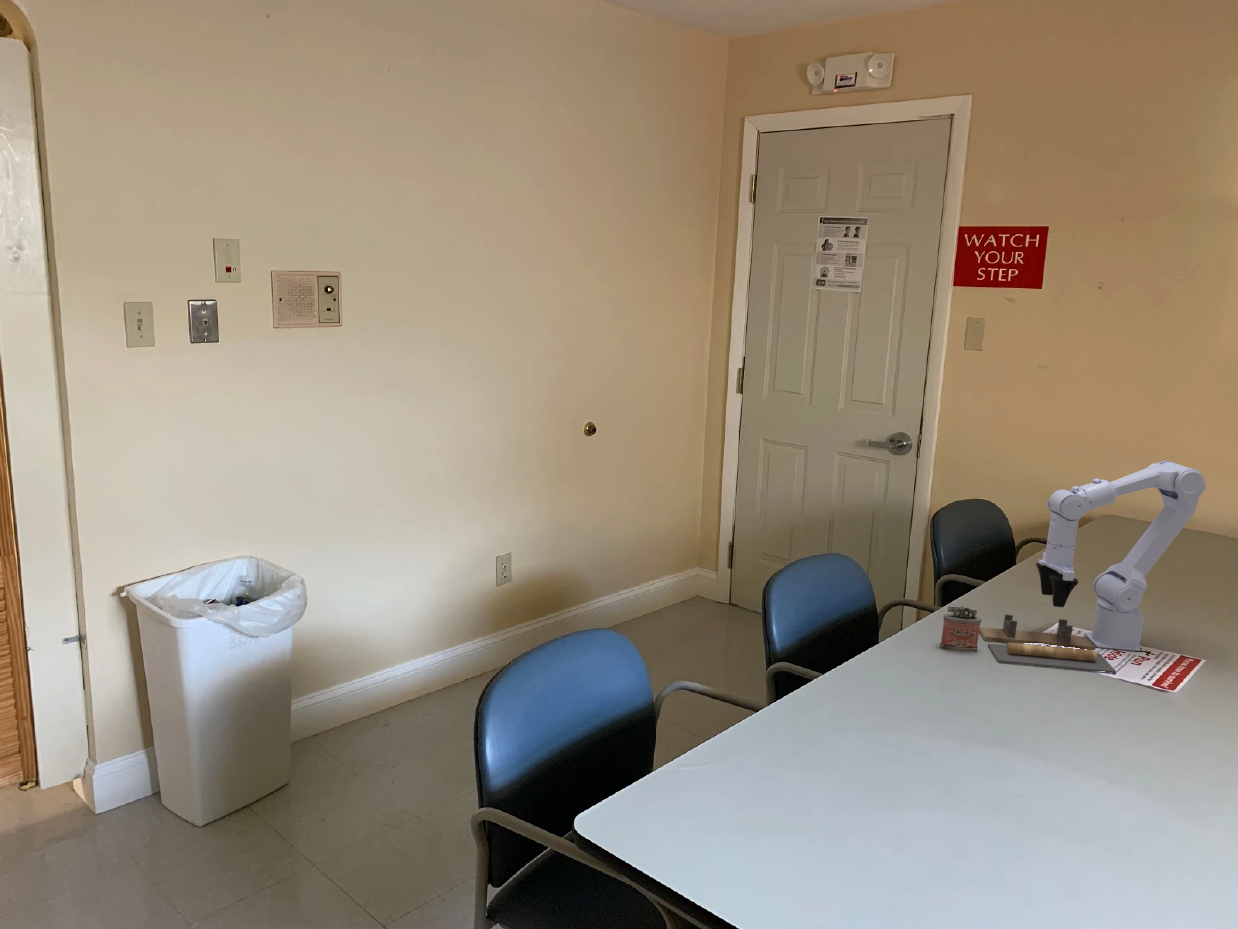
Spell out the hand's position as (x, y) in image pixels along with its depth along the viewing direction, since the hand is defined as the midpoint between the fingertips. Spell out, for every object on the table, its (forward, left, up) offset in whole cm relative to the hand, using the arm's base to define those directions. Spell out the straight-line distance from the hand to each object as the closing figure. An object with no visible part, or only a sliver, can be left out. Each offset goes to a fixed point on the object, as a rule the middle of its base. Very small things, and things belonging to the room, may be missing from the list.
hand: (1052, 600), depth 207 cm
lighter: (+22, +9, -10) cm, 26 cm away
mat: (+3, +11, -10) cm, 15 cm away
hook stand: (+3, 0, -10) cm, 10 cm away
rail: (+2, +11, -9) cm, 14 cm away
